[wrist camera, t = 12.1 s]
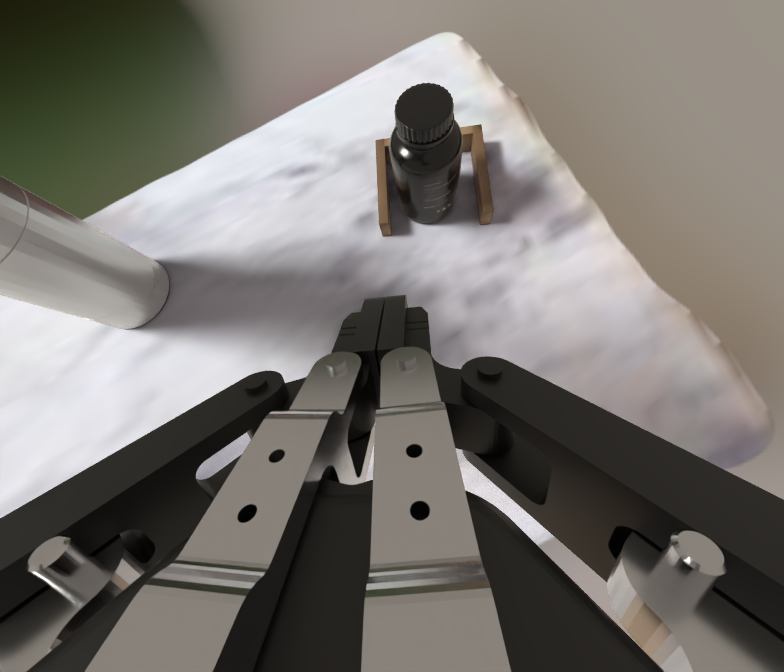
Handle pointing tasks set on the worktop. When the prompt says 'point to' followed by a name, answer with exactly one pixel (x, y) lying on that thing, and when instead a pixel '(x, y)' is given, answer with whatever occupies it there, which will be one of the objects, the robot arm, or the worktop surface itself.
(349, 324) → the robot arm
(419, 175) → the supplement bottle
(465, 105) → the worktop surface
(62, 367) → the worktop surface
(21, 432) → the worktop surface
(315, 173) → the worktop surface
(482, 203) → the walnut frame
